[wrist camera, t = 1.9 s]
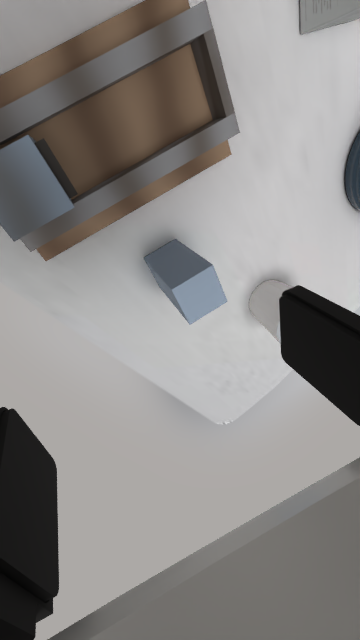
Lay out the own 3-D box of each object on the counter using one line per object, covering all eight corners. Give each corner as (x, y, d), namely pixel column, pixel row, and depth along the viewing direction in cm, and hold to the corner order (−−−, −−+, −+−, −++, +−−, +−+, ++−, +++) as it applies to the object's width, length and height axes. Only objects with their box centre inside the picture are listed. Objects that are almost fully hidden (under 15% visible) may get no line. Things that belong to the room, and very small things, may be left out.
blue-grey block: (143, 257, 32) (171, 289, 24) (175, 238, 32) (212, 264, 25) (161, 291, 34) (192, 329, 27) (191, 273, 34) (229, 306, 27)
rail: (175, -10, 23) (251, -109, 14) (223, 154, 30) (294, 155, 21) (-64, 114, 21) (-142, 89, 13) (46, 256, 28) (44, 302, 20)
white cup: (250, 275, 38) (286, 298, 32) (293, 274, 40) (333, 294, 34) (240, 323, 41) (271, 351, 35) (280, 319, 43) (315, 344, 38)
